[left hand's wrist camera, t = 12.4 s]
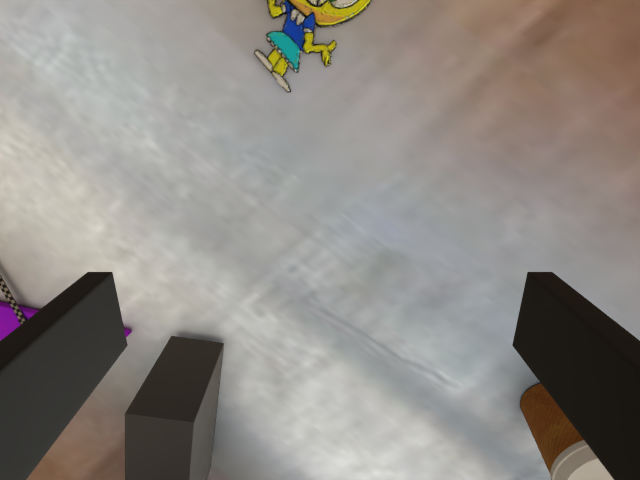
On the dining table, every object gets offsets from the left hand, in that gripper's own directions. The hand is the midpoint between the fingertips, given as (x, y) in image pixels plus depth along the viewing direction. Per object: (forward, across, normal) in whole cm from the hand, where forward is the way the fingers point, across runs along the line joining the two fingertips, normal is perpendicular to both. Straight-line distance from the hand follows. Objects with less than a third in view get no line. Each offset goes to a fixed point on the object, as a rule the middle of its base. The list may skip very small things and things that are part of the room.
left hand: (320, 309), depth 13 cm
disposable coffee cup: (+30, +30, -32) cm, 53 cm away
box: (+29, -16, -32) cm, 46 cm away
